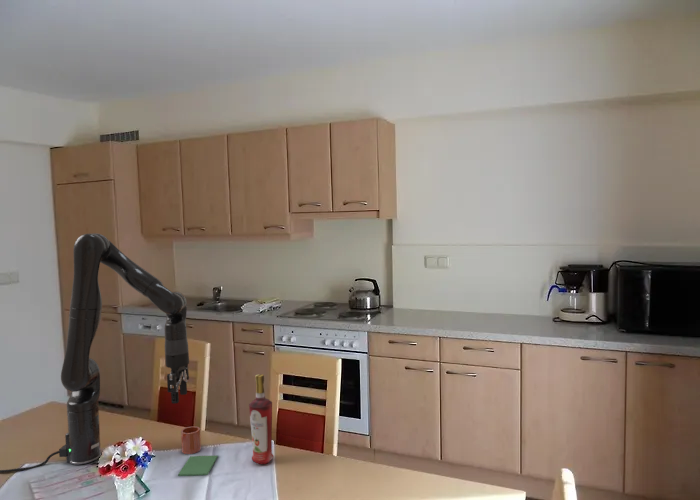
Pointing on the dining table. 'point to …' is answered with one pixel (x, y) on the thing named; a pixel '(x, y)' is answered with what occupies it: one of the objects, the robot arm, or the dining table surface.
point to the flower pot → (190, 440)
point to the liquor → (261, 424)
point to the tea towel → (198, 465)
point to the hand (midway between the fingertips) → (179, 398)
